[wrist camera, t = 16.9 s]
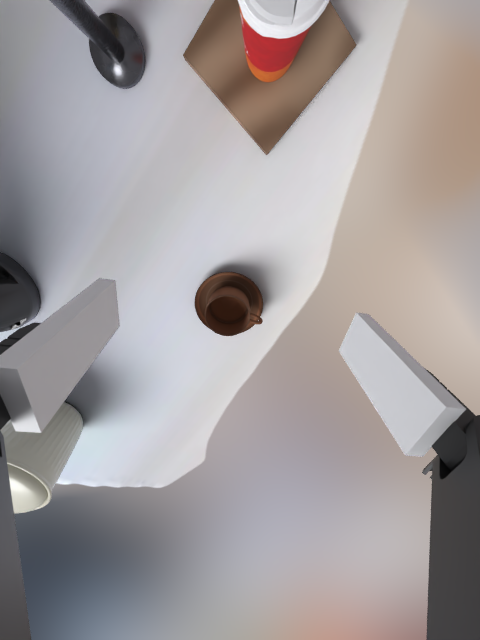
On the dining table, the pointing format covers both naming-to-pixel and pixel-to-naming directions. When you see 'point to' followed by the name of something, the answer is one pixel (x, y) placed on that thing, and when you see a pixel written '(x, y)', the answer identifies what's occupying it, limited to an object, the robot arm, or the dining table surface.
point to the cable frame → (108, 42)
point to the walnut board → (253, 94)
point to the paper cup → (276, 33)
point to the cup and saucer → (229, 303)
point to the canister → (40, 457)
